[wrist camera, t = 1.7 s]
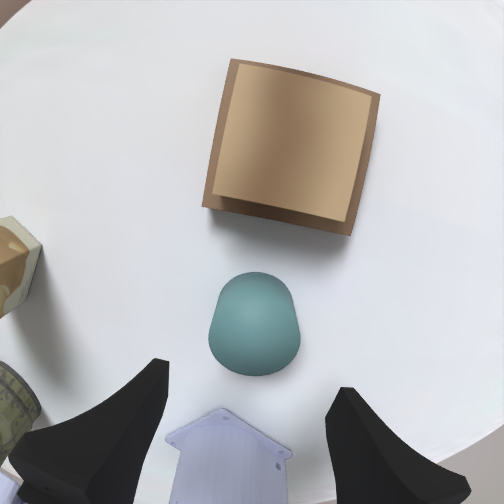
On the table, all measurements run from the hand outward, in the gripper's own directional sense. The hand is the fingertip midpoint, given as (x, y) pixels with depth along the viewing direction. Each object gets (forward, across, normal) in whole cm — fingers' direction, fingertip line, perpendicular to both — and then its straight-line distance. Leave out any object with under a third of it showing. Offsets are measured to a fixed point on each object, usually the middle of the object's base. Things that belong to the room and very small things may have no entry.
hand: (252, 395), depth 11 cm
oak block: (+6, 0, -10) cm, 12 cm away
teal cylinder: (+8, 0, 0) cm, 8 cm away
